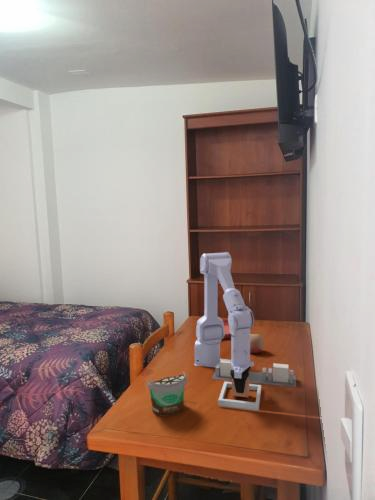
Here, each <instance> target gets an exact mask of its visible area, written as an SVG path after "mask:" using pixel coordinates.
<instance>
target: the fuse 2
mask: <svg viewBox="0 0 375 500" xmlns="http://www.w3.org/2000/svg"><path fill="white" fill-rule="evenodd" d="M272 366H273V367H272V374H273V381H277V382H287V383H288V375H289V370H290V369H289V364H286V363H285V364H283V363H274V362H273V364H272Z"/></svg>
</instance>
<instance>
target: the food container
mask: <svg viewBox="0 0 375 500" xmlns="http://www.w3.org/2000/svg"><path fill="white" fill-rule="evenodd" d="M187 383H188V381H187V376H186V374H185V372H184V371H182V374H179V375H176V376H175V375H174V376H167V377H163V378H161V379H159V380H156V381H151V380H148V382H147V386H146V388H148V389H149V393H150V394H149V396H150V400H151V401H150V402H151V409H152V412H153V413H154V414H156V415H158V416H161V417H170V416H171V417H172V416H174V415H178V414H179V413H181V412H182V411H183V407H184V397H185V395H184V394H185V387H186V385H187Z"/></svg>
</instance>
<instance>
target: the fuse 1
mask: <svg viewBox="0 0 375 500" xmlns="http://www.w3.org/2000/svg"><path fill="white" fill-rule="evenodd" d="M220 359H221V361H220V376H227V377H231V375H230V371H231V370H233V368H232V366H231V358H229V359H227V358H220Z"/></svg>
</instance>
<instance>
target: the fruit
mask: <svg viewBox="0 0 375 500" xmlns="http://www.w3.org/2000/svg"><path fill="white" fill-rule="evenodd" d="M264 343H265V342H264V339H263V337H262V336H261V334H259V333H258V334H257V333H254V334H253V333H250V354H253V355H256V354H259V353H260V352H262V350H263V349H264V346H265V345H264Z"/></svg>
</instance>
